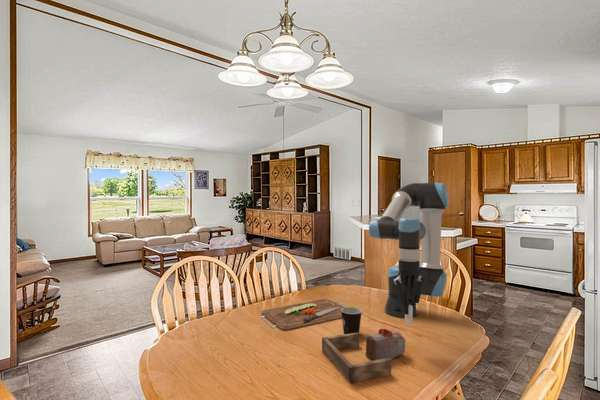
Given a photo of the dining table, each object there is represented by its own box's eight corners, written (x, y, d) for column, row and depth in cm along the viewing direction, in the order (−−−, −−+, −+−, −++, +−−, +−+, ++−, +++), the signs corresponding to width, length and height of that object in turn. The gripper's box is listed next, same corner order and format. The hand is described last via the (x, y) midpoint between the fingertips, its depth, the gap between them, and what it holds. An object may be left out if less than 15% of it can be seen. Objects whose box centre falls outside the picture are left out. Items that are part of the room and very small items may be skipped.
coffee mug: (361, 338, 138) (361, 314, 138) (340, 337, 140) (340, 313, 140) (362, 327, 150) (362, 305, 150) (342, 326, 152) (342, 304, 151)
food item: (392, 347, 131) (392, 322, 130) (407, 356, 123) (407, 330, 123) (363, 355, 124) (363, 329, 124) (377, 365, 117) (377, 337, 117)
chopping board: (330, 299, 190) (330, 294, 190) (361, 315, 166) (361, 308, 166) (255, 314, 168) (255, 308, 168) (277, 334, 145) (277, 327, 145)
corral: (357, 344, 133) (357, 332, 133) (391, 374, 111) (391, 359, 111) (322, 351, 128) (322, 338, 128) (350, 383, 106) (350, 367, 106)
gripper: (416, 256, 132) (416, 317, 132) (388, 258, 128) (387, 321, 128) (430, 260, 125) (429, 323, 125) (400, 262, 121) (399, 328, 121)
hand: (408, 322), depth 126 cm, fingers closed
